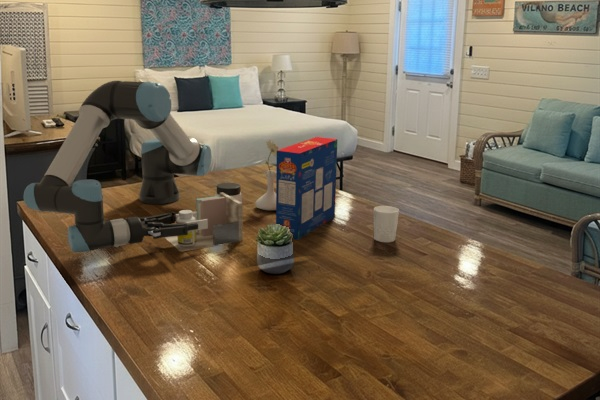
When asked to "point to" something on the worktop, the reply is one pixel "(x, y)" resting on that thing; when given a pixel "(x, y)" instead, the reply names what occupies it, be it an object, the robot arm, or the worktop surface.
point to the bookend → (225, 233)
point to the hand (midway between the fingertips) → (201, 219)
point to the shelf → (207, 241)
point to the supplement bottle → (191, 237)
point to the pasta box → (306, 185)
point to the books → (211, 212)
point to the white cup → (385, 223)
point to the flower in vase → (269, 184)
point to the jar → (230, 190)
